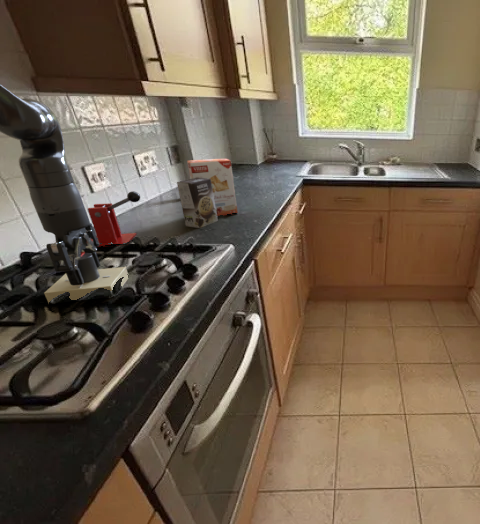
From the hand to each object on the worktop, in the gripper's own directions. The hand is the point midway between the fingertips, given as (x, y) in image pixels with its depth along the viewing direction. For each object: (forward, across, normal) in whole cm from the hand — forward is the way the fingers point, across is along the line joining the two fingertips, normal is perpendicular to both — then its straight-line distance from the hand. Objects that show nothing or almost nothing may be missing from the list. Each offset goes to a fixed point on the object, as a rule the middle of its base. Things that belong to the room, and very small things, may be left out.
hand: (86, 275), depth 75 cm
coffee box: (+4, -43, +17) cm, 47 cm away
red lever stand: (+4, -31, -6) cm, 32 cm away
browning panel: (+4, 0, 0) cm, 4 cm away
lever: (-7, -31, -1) cm, 32 cm away
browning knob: (+1, 0, 0) cm, 1 cm away
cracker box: (+4, -55, +21) cm, 59 cm away
